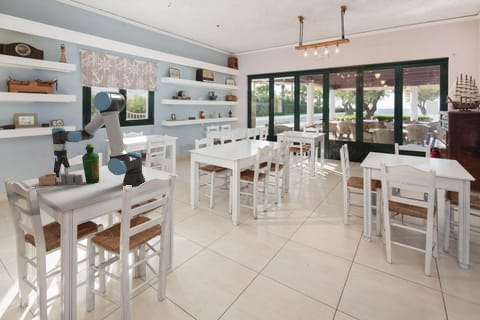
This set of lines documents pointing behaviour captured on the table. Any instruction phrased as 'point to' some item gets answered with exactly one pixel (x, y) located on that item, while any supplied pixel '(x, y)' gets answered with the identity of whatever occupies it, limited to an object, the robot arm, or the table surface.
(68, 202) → the table surface
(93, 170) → the bottle
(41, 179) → the terracotta bin
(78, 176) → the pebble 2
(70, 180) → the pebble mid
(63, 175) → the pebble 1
